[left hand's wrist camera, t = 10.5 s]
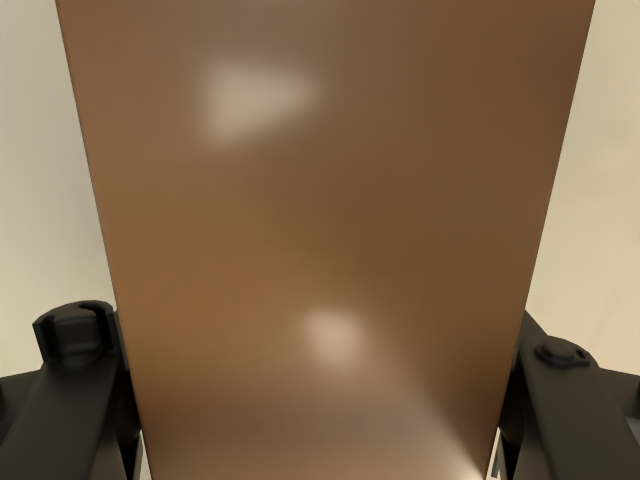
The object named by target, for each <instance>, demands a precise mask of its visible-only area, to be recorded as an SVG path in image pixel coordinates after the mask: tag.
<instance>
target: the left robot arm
mask: <svg viewBox="0 0 640 480" xmlns="http://www.w3.org/2000/svg"><path fill="white" fill-rule="evenodd" d="M32 326H33V329H34V332H35V335H36V339H37V342H38V345H39V348H40V352H41V355H42V358H43V361H44V363H43V365H42V367H41V368H40V370H36V371H32V372H27V373H22V374H17V375H12V376H7V377H2V378H0V480H139V478H140V471H141V463H142V455H143V446H142V440H141V435H140V431H141V424H140V419H139V414H138V409H137V405H136V400H135V395H134V390H133V385H132V380H131V375H130V370H129V365H128V360H127V355H126V350H125V345H124V340H123V335H122V330H121V325H120V320H119V315H118V310H117V311H113V307H112V306H111V305H110V304H108V303H107V302H103V301H98V300H87V301H78V302H74V303H69V304H65V305H63V306H60V307H57V308H54V309H52V310H50V311H48V312H47V313H45V314H43V315H41V316H40V317H39V318H38V319H37V320H36V321H35V322H34V323H33V324H32ZM498 427H499V429H500V435H499V440H498V444H497V449H496V453H495V458H494V463H493V467H492V474H491V477H495V478H497V475H498V471H499V469H500V477H501V480H640V376H638V375H633V374H628V373H623V372H618V371H613V370H607V369H603V368H599V366H598V364H597V362H596V361H595V359H594V358H593V357H592V356H591V355H590V353H589V352H587V351H586V350H584V349H583V348H581V347H580V346H578V345H576V344H574V343H572V342H569V341H567V340H565V339H561V338H557V337H553V336H548V335H547V334H546V333H545V332H544V331H543V329H542V328H541V327H540V326H539V325H538V324H537V323H536V321H535V320H534V319H533V318H532V317H531V316H530V315H529V313H528V312H527V311H526V310H524V314H523V319H522V323H521V327H520V332H519V336H518V341H517V345H516V349H515V354H514V358H513V362H512V367H511V371H510V375H509V380H508V384H507V389H506V393H505V397H504V402H503V406H502V410H501V415H500V419H499V423H498Z"/></svg>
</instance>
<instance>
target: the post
mask: <svg viewBox="0 0 640 480" xmlns="http://www.w3.org/2000/svg"><path fill="white" fill-rule="evenodd" d="M55 3H56V8H57V13H58V18H59V23H60V28H61V33H62V38H63V43H64V48H65V53H66V58H67V63H68V67H69V72H70V77H71V82H72V87H73V92H74V97H75V102H76V107H77V112H78V117H79V122H80V127H81V132H82V137H83V142H84V147H85V152H86V157H87V162H88V167H89V172H90V177H91V181H92V186H93V191H94V196H95V201H96V206H97V211H98V216H99V221H100V226H101V231H102V236H103V241H104V246H105V251H106V256H107V261H108V266H109V271H110V276H111V281H112V286H113V291H114V295H115V300H116V305H117V310H118V315H119V320H120V325H121V330H122V335H123V340H124V345H125V350H126V355H127V360H128V365H129V370H130V375H131V380H132V385H133V390H134V395H135V400H136V405H137V409H138V414H139V419H140V424H141V429H142V434H143V439H144V444H145V449H146V454H147V459H148V464H149V469H150V474H151V479H152V480H486V476H487V471H488V467H489V463H490V458H491V454H492V450H493V445H494V441H495V436H496V432H497V428H498V423H499V419H500V415H501V410H502V406H503V402H504V397H505V393H506V389H507V384H508V380H509V375H510V371H511V367H512V362H513V358H514V354H515V349H516V345H517V341H518V336H519V332H520V327H521V323H522V319H523V314H524V310H525V306H526V301H527V297H528V293H529V288H530V284H531V280H532V275H533V271H534V266H535V262H536V258H537V253H538V249H539V245H540V240H541V236H542V232H543V227H544V223H545V218H546V214H547V210H548V205H549V201H550V197H551V192H552V188H553V184H554V179H555V175H556V170H557V166H558V162H559V157H560V153H561V149H562V144H563V140H564V136H565V131H566V127H567V123H568V118H569V114H570V109H571V105H572V101H573V96H574V92H575V88H576V83H577V79H578V75H579V70H580V66H581V61H582V57H583V53H584V48H585V44H586V40H587V35H588V31H589V27H590V22H591V18H592V14H593V9H594V5H595V0H55Z"/></svg>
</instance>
